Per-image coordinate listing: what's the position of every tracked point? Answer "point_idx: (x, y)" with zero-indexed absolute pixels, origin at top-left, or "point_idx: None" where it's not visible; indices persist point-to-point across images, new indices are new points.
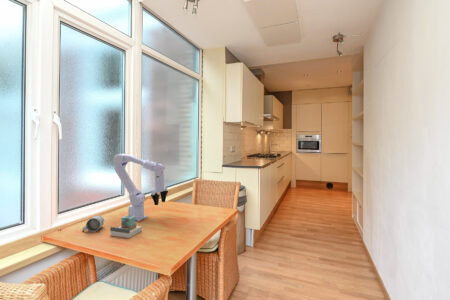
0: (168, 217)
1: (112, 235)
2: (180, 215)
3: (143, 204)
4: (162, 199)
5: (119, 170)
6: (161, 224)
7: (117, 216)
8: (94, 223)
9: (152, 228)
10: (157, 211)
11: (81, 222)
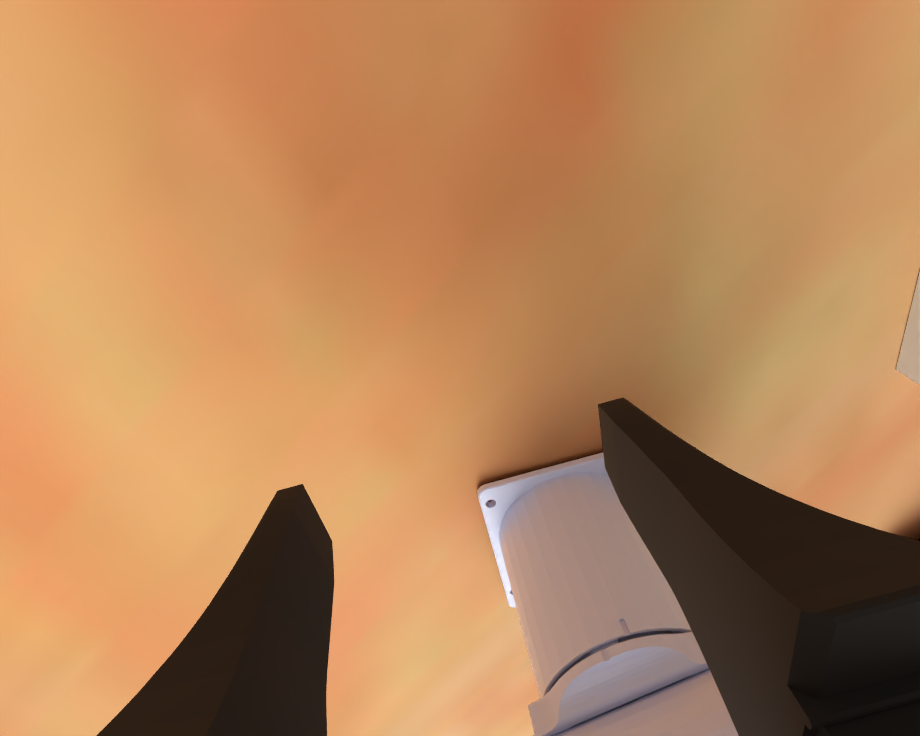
0: (299, 226)
1: None
2: (36, 97)
3: (602, 655)
4: (318, 584)
5: None
6: (637, 38)
7: None
8: None
9: (841, 28)
10: (232, 562)
11: None
